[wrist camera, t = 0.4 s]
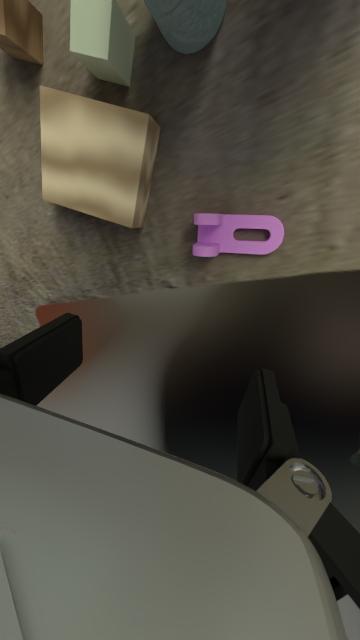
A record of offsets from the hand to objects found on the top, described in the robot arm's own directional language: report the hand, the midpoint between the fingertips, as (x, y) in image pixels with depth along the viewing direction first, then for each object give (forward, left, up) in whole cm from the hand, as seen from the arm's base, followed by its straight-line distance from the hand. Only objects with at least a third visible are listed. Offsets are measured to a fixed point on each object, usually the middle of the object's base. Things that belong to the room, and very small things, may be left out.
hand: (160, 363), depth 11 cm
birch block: (-9, -22, -31) cm, 39 cm away
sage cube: (-22, -22, -30) cm, 43 cm away
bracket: (-5, +2, -31) cm, 31 cm away
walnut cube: (-22, -36, -30) cm, 52 cm away
